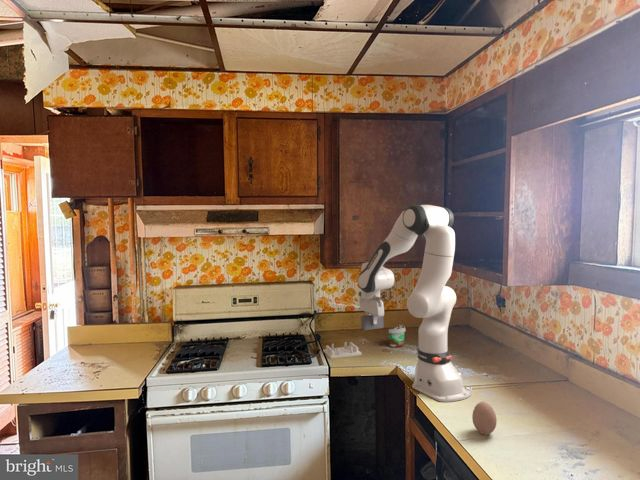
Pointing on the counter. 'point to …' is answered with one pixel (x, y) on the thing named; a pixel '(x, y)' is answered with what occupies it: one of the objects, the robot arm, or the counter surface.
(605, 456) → the counter surface
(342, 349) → the pin tray
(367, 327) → the block
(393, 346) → the food container
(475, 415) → the egg
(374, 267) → the robot arm
